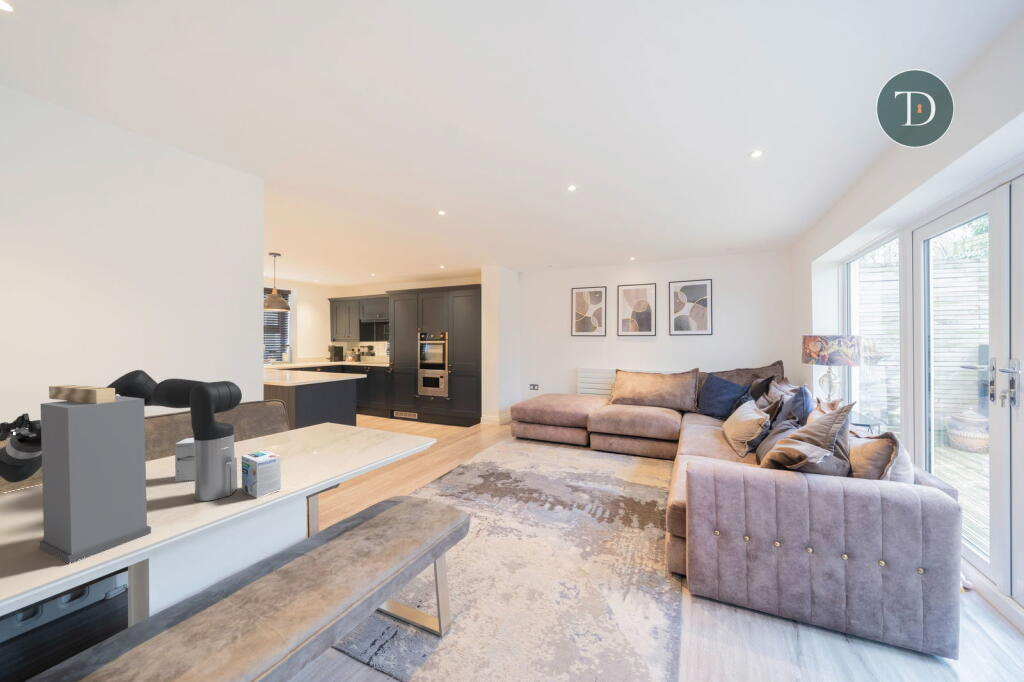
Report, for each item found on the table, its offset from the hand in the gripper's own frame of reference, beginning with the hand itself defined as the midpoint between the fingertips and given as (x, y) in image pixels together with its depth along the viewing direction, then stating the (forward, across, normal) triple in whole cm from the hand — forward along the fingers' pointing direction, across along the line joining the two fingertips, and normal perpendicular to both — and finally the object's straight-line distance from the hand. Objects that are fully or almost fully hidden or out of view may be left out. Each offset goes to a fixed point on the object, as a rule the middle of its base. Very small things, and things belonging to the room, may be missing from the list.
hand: (53, 413), depth 94 cm
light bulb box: (+12, +32, +39) cm, 52 cm away
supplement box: (-17, +31, +22) cm, 42 cm away
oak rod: (+17, 0, +5) cm, 18 cm away
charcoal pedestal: (+6, 0, +35) cm, 35 cm away
